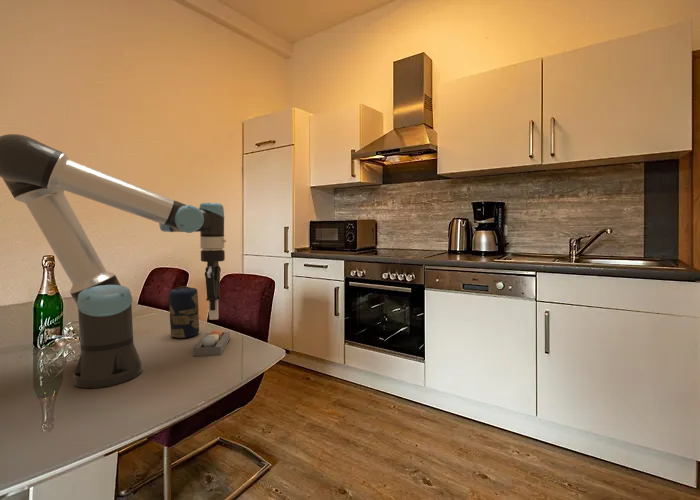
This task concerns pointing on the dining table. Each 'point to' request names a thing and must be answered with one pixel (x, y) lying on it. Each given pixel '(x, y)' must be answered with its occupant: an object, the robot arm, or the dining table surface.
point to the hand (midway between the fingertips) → (213, 318)
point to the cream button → (215, 336)
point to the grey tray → (214, 350)
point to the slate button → (209, 341)
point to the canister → (184, 312)
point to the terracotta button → (217, 332)
